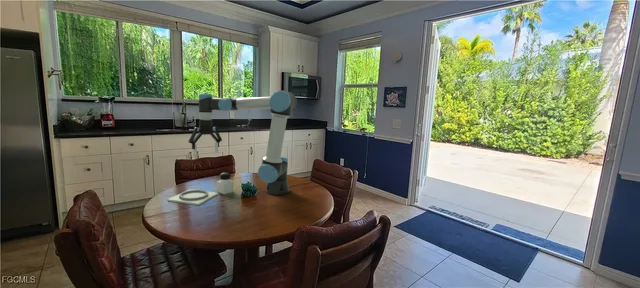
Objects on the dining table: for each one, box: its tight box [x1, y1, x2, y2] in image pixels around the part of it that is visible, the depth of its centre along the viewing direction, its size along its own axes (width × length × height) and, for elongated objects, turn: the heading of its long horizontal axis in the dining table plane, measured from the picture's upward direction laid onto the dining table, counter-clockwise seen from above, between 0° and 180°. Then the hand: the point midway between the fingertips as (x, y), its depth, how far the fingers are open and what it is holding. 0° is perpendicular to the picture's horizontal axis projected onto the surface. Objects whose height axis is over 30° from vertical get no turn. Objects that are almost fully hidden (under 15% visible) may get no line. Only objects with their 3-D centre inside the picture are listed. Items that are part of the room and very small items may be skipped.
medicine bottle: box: [216, 172, 234, 195], centre depth 169 cm, size 7×7×12 cm
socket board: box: [167, 188, 219, 206], centre depth 157 cm, size 19×19×2 cm
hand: (206, 153), depth 168 cm, fingers open, 13 cm apart
